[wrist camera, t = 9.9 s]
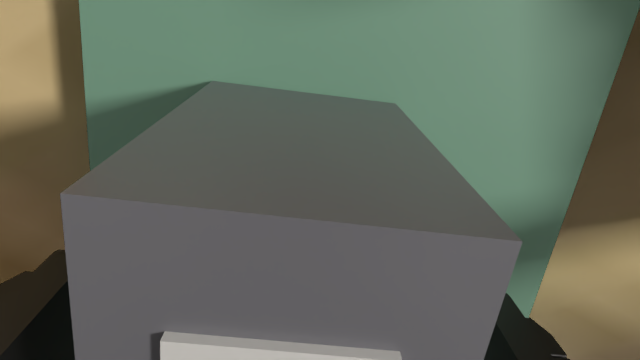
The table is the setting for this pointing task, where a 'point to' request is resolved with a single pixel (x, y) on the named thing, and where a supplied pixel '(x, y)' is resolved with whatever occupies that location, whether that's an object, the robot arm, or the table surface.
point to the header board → (386, 82)
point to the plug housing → (282, 237)
